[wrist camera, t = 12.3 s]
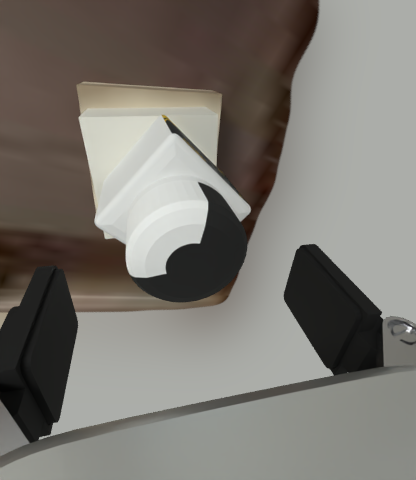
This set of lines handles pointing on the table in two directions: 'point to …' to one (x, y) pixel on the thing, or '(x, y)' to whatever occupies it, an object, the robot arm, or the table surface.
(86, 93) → the tower base block
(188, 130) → the tower top block
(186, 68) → the table surface
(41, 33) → the table surface
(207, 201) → the medicine bottle
